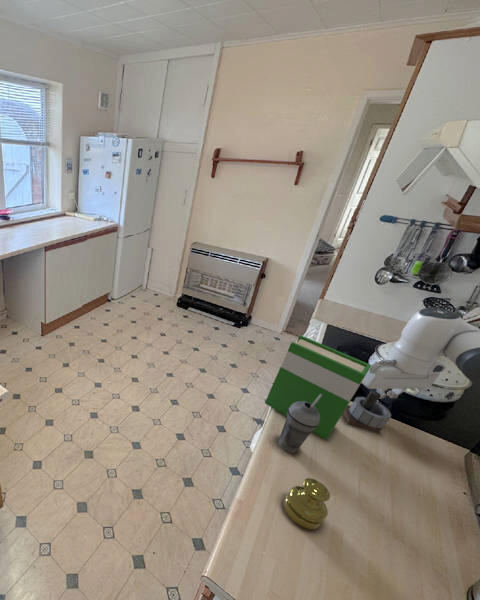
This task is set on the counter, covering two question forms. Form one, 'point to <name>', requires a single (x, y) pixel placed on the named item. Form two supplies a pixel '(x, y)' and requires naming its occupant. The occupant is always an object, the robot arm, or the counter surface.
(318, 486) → the brass knobbed weight
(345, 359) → the hardback book
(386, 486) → the counter surface
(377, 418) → the grey faceted ring
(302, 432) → the beverage cup
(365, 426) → the peg stand
